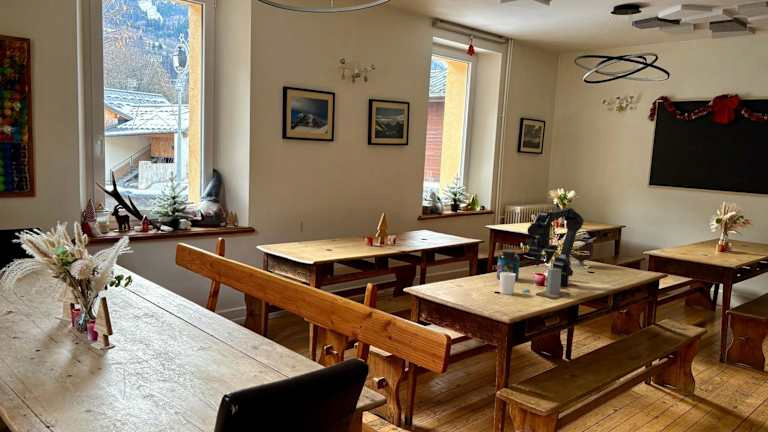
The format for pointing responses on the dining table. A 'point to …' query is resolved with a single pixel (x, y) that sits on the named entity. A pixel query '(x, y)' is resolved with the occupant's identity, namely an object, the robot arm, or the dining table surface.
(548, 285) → the canister
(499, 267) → the container
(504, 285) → the white cup
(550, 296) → the walnut board
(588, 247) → the mate gourd
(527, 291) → the teal token
